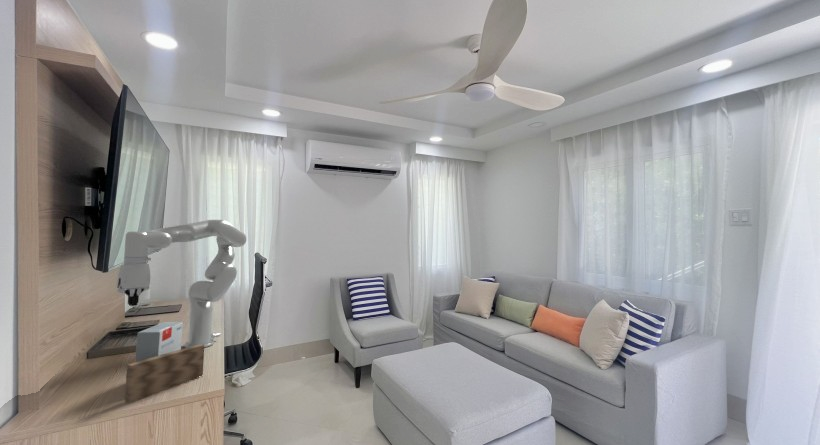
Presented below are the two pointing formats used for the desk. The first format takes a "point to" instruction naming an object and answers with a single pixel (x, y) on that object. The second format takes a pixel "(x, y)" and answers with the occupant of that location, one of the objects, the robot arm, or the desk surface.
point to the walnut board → (163, 372)
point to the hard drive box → (158, 340)
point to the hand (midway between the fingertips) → (132, 305)
